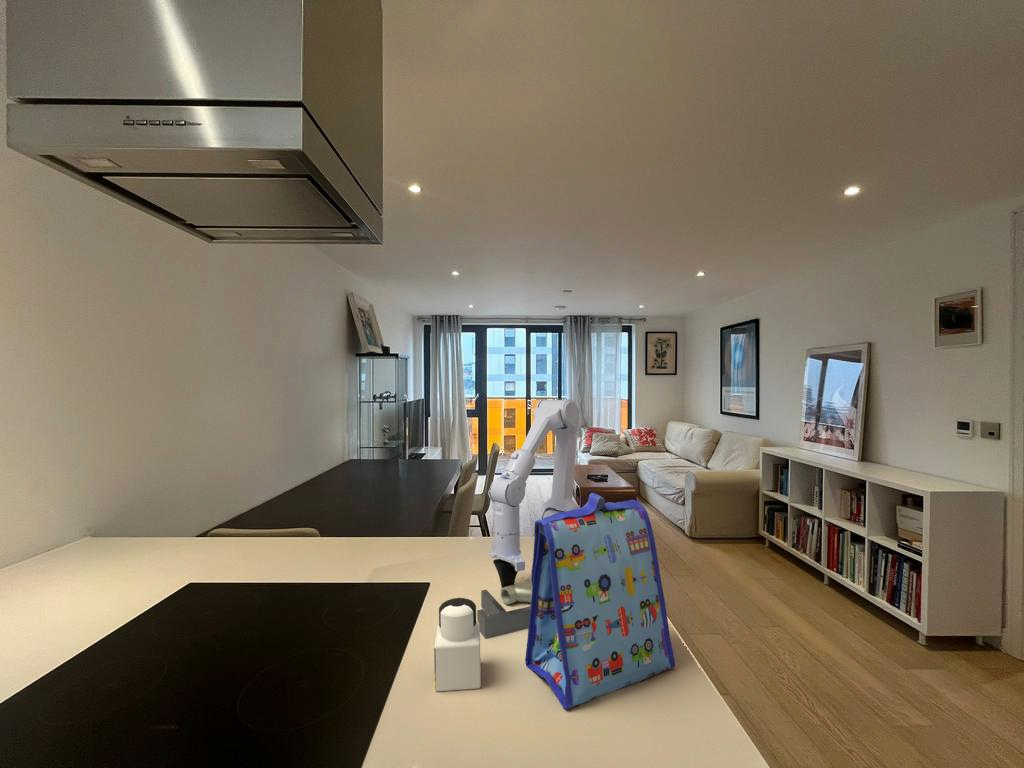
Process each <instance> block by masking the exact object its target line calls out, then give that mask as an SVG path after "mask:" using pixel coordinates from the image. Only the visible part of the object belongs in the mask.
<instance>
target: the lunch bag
mask: <svg viewBox="0 0 1024 768" xmlns="http://www.w3.org/2000/svg"><path fill="white" fill-rule="evenodd" d="M533 533H534V534H533V535H534V540H533V541H534V543H533V556H532V567H531V575H530V576H531V577H530V578H531V581H532V586H533V587H532V598H531V603H530V606H531V608H530V618H529V627H528V628H527V640H526V649H525V659H524V662H525V663H524V664H525V666H526V668H528V669H529V670H530V671H531V672H534V673H536V674H537V675H538V676H540V677H541V678H542V679H545V680H546V682H547V684H548V685H549V687H550V689H551V690H552V692H553V693H554V695H555V696H556V698H557V699H558V701H559V702H560V705H561V707H562V708H563V710H564V709H565V710H568V709H571V708H574V707H575V706H578V705H581V704H584V703H586V702H590V701H592V700H594V699H597V698H598V697H599V698H600V697H601V696H604V695H607V694H610V693H612V692H614V691H617V690H619V689H622V688H625V687H628V686H630V685H632V684H635V683H637V682H640V681H643V680H645V679H648V678H650V677H652V676H655V675H657V674H660V673H662V672H665V671H668V670H669V669H674V668H675V667H676V659H675V655H674V649H673V644H672V641H671V640H672V639H671V634H670V628H669V627H670V626H669V622H668V613H667V612H668V611H667V606H666V600H665V595H664V588H663V583H662V578H661V571H660V570H661V569H660V565H659V559H658V553H657V545H656V541H655V536H654V535H655V534H654V532H653V528H652V523H651V520H650V516H649V513H648V511H647V509H646V507H645V506H644V505H643V504H642V503H641V502H639V501H637V500H635V499H630V500H623V501H617V502H611V501H610V502H609V501H608V502H606V500H605V498H604V497H602V496H601V495H599V494H597V493H595V492H591V493H590V494H589V496H588V500H587V502H586V504H584V505H583V506H582V507H580V508H579V509H575V510H571V511H566V512H561V513H556V514H553V515H551V516H548V517H545V518H543V519H541V520H540V519H538V520H535V521H534V532H533Z"/></svg>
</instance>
